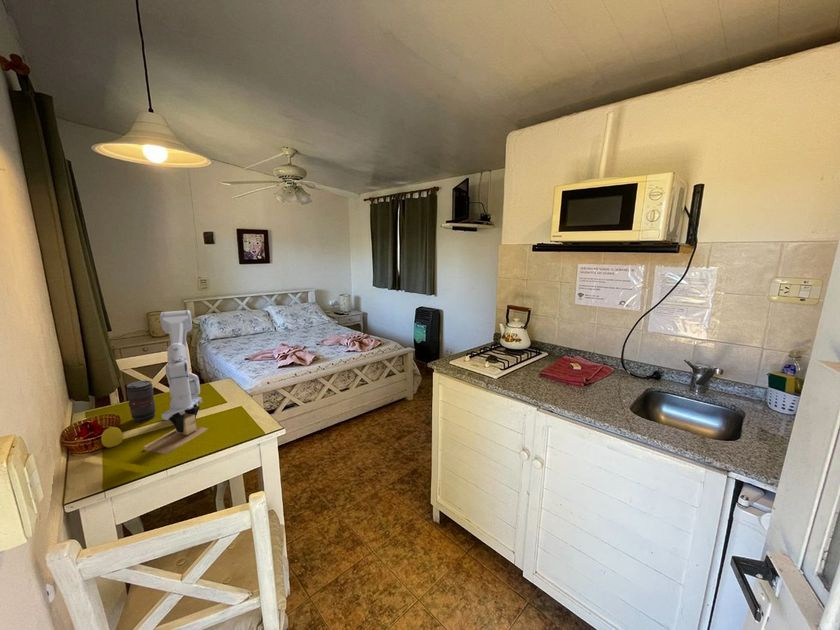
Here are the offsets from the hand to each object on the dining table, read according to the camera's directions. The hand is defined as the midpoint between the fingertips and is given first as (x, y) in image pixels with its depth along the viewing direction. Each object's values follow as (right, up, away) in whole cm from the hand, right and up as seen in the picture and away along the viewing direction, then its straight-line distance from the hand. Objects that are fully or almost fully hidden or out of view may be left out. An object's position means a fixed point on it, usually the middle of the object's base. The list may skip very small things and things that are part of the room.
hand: (186, 428), depth 127 cm
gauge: (0, -1, 0) cm, 1 cm away
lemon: (-20, -5, -7) cm, 22 cm away
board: (0, -4, -4) cm, 5 cm away
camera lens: (-26, -1, +14) cm, 30 cm away
